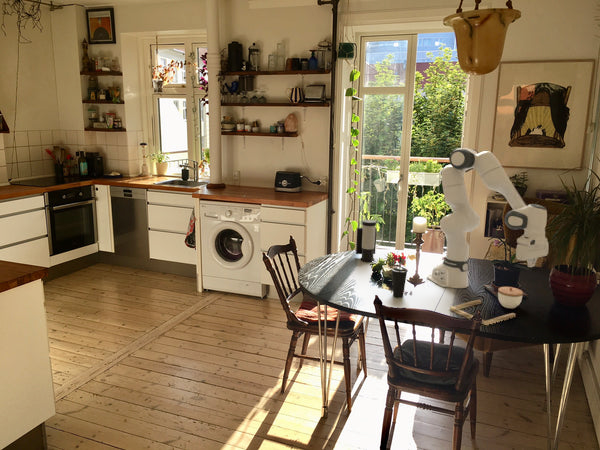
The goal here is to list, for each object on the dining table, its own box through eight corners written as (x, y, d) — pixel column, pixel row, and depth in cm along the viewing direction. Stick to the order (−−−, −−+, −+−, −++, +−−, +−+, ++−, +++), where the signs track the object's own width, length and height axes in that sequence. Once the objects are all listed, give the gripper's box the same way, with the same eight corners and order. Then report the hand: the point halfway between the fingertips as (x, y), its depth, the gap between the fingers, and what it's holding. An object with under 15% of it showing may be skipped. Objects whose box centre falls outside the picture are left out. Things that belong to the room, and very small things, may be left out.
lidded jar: (492, 305, 233) (494, 286, 230) (502, 300, 240) (504, 281, 238) (515, 312, 225) (517, 292, 223) (524, 306, 232) (527, 287, 230)
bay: (449, 309, 226) (449, 306, 226) (478, 302, 236) (479, 299, 236) (485, 326, 210) (485, 322, 209) (515, 317, 220) (515, 313, 219)
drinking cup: (387, 294, 245) (389, 255, 240) (400, 292, 247) (403, 254, 243) (395, 299, 238) (397, 259, 233) (408, 297, 240) (411, 258, 236)
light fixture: (358, 262, 296) (360, 222, 291) (355, 257, 307) (357, 218, 301) (378, 262, 297) (380, 222, 292) (374, 257, 308) (376, 218, 302)
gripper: (541, 234, 240) (538, 262, 243) (514, 239, 230) (511, 268, 233) (553, 237, 235) (550, 265, 238) (526, 242, 224) (523, 271, 227)
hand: (531, 266), depth 235 cm, fingers closed
